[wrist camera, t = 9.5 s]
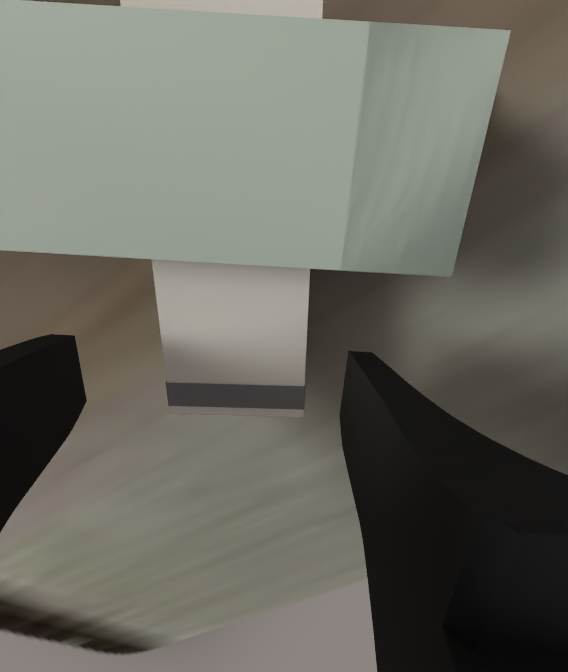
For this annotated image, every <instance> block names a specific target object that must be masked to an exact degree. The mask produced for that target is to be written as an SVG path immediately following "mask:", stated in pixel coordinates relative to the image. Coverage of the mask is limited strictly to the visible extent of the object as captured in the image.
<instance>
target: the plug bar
mask: <svg viewBox="0 0 568 672" xmlns="http://www.w3.org/2000/svg"><path fill="white" fill-rule="evenodd" d="M120 3H121V6H122V7H138V8H154V9H171V10H187V11H203V12H219V13H236V14H252V15H268V16H285V17H301V18H317V19H322V10H323V0H120ZM152 266H153V274H154V283H155V291H156V299H157V307H158V315H159V324H160V332H161V340H162V348H163V356H164V365H165V373H166V381H167V382H166V389H167V397H168V405H169V406H170V414H199V415H234V416H270V417H303V410H304V402H305V366H306V345H307V324H308V303H309V282H310V269H309V268H292V267H275V266H258V265H241V264H225V263H208V262H191V261H174V260H157V259H152Z"/></svg>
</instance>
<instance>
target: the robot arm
mask: <svg viewBox="0 0 568 672" xmlns="http://www.w3.org/2000/svg"><path fill="white" fill-rule="evenodd" d="M86 401H87V400H86V395H85V390H84V384H83V379H82V373H81V368H80V362H79V357H78V352H77V346H76V341H75V336H71V335H54V334H51V335H46V336H42V337H38V338H34V339H31V340H28V341H25V342H22V343H19V344H16V345H13V346H10V347H7V348H4V349H2V350H0V532H1V530H2V529H3V527H4V525H5V524H6V522H7V520H8V519H9V517H10V516H11V514H12V513H13V511H14V510H15V508H16V507H17V506H18V504H19V503H20V501H21V500H22V499H23V497H24V496H25V494H26V493H27V492H28V490H29V489H30V488H31V486H32V485H33V484H34V482H35V481H36V479H37V478H38V477H39V475H40V474H41V473H42V471H43V470H44V469H45V467H46V466H47V464H48V463H49V462H50V460H51V459H52V458H53V456H54V455H55V454H56V452H57V451H58V449H59V448H60V447H61V445H62V444H63V442H64V441H65V440H66V438H67V437H68V435H69V434H70V432H71V430H72V429H73V427H74V425H75V423H76V421H77V419H78V418H79V416H80V413H81V411H82V409H83V407H84V405H85V403H86ZM340 425H341V436H342V446H343V451H344V456H345V461H346V465H347V469H348V474H349V478H350V483H351V487H352V491H353V496H354V500H355V504H356V509H357V513H358V517H359V522H360V527H361V532H362V538H363V544H364V552H365V560H366V568H367V577H368V585H369V594H370V603H371V612H372V621H373V630H374V640H375V651H376V662H377V672H568V475H566V474H563V473H561V472H559V471H556V470H554V469H551V468H549V467H547V466H544V465H542V464H540V463H538V462H536V461H533V460H531V459H529V458H527V457H525V456H523V455H521V454H519V453H517V452H515V451H513V450H511V449H509V448H507V447H505V446H503V445H501V444H499V443H497V442H495V441H493V440H491V439H490V438H488V437H486V436H484V435H482V434H481V433H479V432H477V431H476V430H474V429H472V428H471V427H469V426H467V425H466V424H464V423H462V422H461V421H459V420H458V419H456V418H454V417H453V416H451V415H450V414H448V413H447V412H445V411H444V410H443V409H441V408H440V407H439V406H437V405H436V404H434V403H433V402H432V401H430V400H429V399H428V398H426V397H425V396H424V395H422V394H421V393H420V392H418V391H417V390H416V389H415V388H413V387H412V386H411V385H410V384H409V383H407V382H406V381H405V380H404V379H403V378H401V377H400V376H399V375H398V374H397V373H396V372H394V371H393V370H392V369H391V368H390V367H389V366H388V365H386V364H385V363H384V362H383V361H382V360H381V359H379V358H378V357H377V356H376V355H374V354H373V353H371V352H354V351H348V359H347V366H346V373H345V380H344V388H343V395H342V402H341V409H340Z"/></svg>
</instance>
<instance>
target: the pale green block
mask: <svg viewBox="0 0 568 672" xmlns="http://www.w3.org/2000/svg"><path fill="white" fill-rule="evenodd" d="M510 32H511V30H496V29H480V28H464V27H447V26H431V25H415V24H398V23H382V22H366V21H350V20H333V19H317V18H301V17H285V16H268V15H252V14H236V13H219V12H203V11H187V10H171V9H154V8H138V7H122V6H105V5H89V4H73V3H57V2H40V1H24V0H0V250H6V251H23V252H40V253H56V254H73V255H90V256H107V257H124V258H141V259H157V260H174V261H191V262H208V263H225V264H241V265H258V266H275V267H292V268H309V269H325V270H342V271H359V272H376V273H393V274H410V275H426V276H443V277H452V274H453V269H454V265H455V261H456V257H457V253H458V249H459V244H460V240H461V236H462V232H463V228H464V224H465V219H466V215H467V211H468V207H469V203H470V199H471V194H472V190H473V186H474V182H475V178H476V174H477V169H478V165H479V161H480V157H481V153H482V149H483V145H484V140H485V136H486V132H487V128H488V124H489V120H490V115H491V111H492V107H493V103H494V99H495V95H496V90H497V86H498V82H499V78H500V74H501V70H502V65H503V61H504V57H505V53H506V49H507V45H508V40H509V36H510Z"/></svg>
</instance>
